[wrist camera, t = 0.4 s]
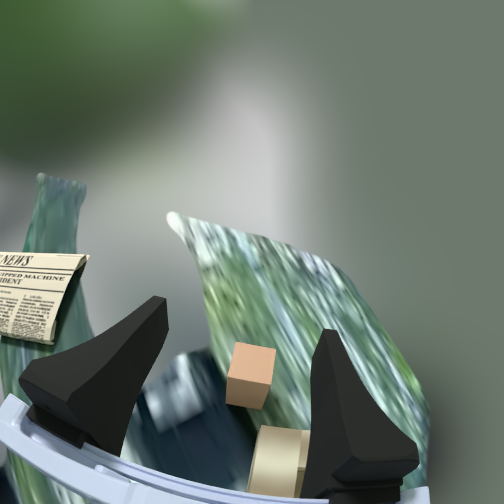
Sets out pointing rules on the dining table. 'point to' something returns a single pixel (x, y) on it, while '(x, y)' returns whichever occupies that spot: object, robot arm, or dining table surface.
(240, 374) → the peg
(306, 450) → the socket block
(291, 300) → the dining table surface
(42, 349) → the dining table surface
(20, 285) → the newspaper
